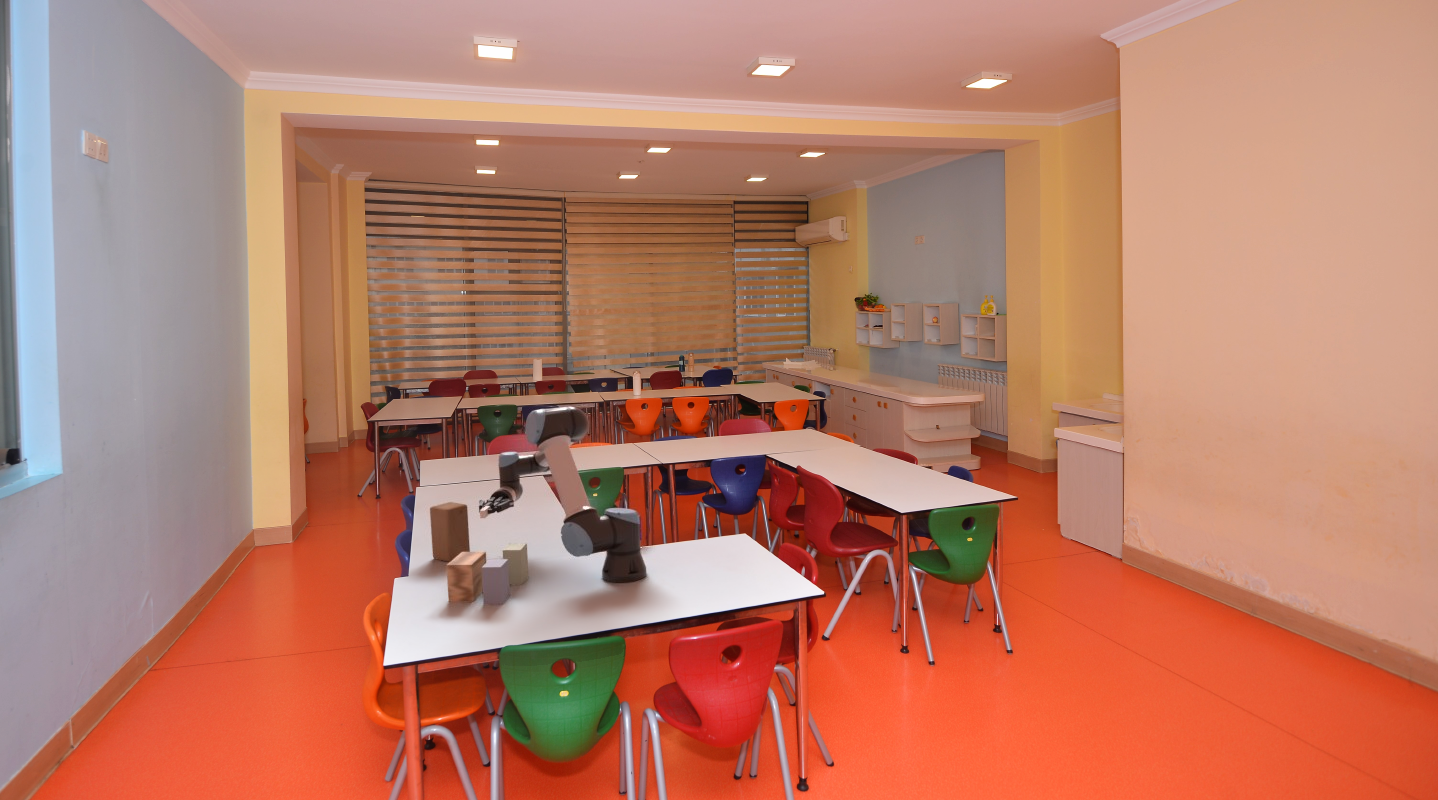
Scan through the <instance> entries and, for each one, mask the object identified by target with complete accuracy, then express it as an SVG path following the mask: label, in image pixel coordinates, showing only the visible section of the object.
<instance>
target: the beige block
mask: <svg viewBox="0 0 1438 800" xmlns="http://www.w3.org/2000/svg"><path fill="white" fill-rule="evenodd" d="M502 559H508V564H509V584H514V585H513V586H523V585H524V584H525V582H526V581H527V580H528V579H529V576H530V575H529V559H528V543H527V542H518V543H517V542H514V543H513V542H511V543H508V544H507V545H506V546H505V547H504V548H503V549H502ZM526 579H527V580H526ZM525 580H526V581H525ZM518 584H519V585H518ZM522 584H523V585H522Z"/></svg>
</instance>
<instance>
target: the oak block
mask: <svg viewBox="0 0 1438 800" xmlns="http://www.w3.org/2000/svg"><path fill="white" fill-rule="evenodd" d="M486 563H487V552H486V551H470V552H461V553H460V554H459V555H458V556H457V557H455V558H454V559H453V560H452V561H451V562H448V563H447V564H446V579H447V595H448V597H447V598H448V603H453V602H455V603H457V602H458V603H462V602H464V603H466V602H467V603H469V602H474V601H476V600H477V598H479V596H480V595H482V594H483V585H482V566H483V565H484V564H486Z"/></svg>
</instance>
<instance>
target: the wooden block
mask: <svg viewBox="0 0 1438 800" xmlns="http://www.w3.org/2000/svg"><path fill="white" fill-rule="evenodd" d="M467 505H468V504H465V503H459V502H454V501H453V502H452V501H450V502H446V503H441V504H437V505H433V506H431V507H430V509H429V515H430V531H431V532H430V533H431V545H432V546H431V550H432V557H433V559H435V560H439V561H444V562H448V563H450V562H451V561H452V560H453V559H454V558H455V557H457V556H458V555H459V554H460V553H461V552H471V549H470V548H471V547H470V533H469V531H470V530H469V513H468V506H467Z"/></svg>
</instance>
